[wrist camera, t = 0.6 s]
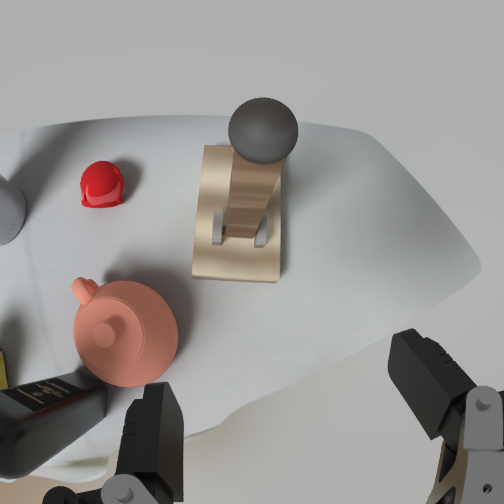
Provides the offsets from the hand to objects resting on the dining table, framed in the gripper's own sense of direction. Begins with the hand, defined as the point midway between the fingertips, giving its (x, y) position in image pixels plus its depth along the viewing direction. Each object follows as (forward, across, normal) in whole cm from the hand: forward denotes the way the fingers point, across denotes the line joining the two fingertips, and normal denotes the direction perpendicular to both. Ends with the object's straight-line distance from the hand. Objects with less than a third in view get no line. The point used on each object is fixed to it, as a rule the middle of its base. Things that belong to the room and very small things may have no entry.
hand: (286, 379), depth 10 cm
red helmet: (+34, +16, -3) cm, 38 cm away
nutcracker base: (+31, -1, +2) cm, 32 cm away
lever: (+25, 0, +2) cm, 25 cm away
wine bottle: (+18, +23, +18) cm, 34 cm away
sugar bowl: (+24, +15, +12) cm, 30 cm away
